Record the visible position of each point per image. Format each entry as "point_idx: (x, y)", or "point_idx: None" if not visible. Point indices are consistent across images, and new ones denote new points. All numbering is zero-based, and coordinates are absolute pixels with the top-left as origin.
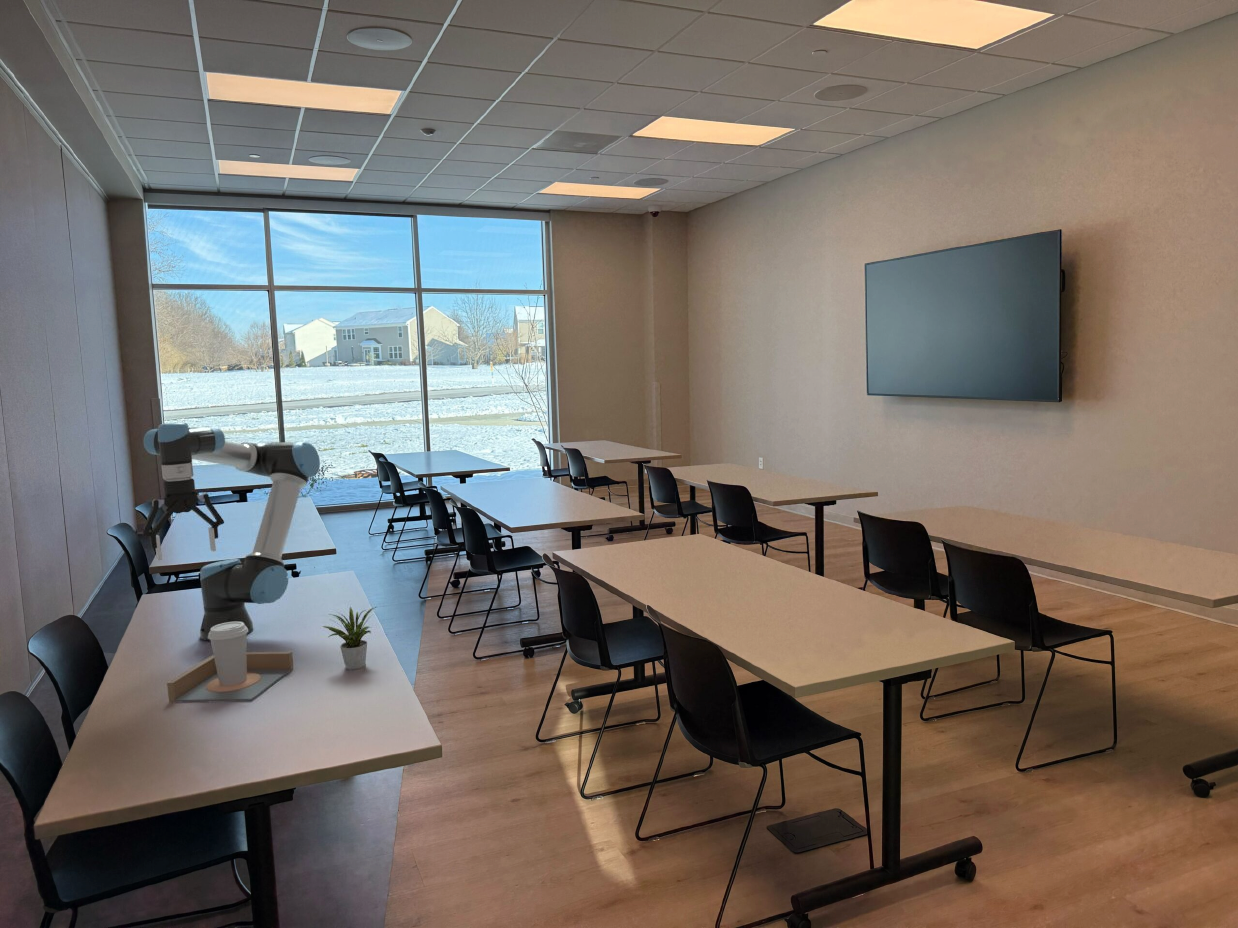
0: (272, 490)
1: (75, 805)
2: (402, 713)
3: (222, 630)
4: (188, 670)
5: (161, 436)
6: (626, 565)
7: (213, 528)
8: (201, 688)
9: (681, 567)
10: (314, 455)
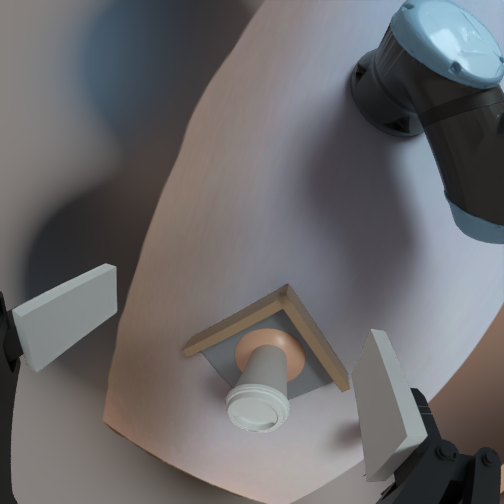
0: None
1: (113, 421)
2: (308, 488)
3: (238, 425)
4: (218, 333)
5: None
6: None
7: (383, 479)
8: (232, 340)
9: None
10: None
